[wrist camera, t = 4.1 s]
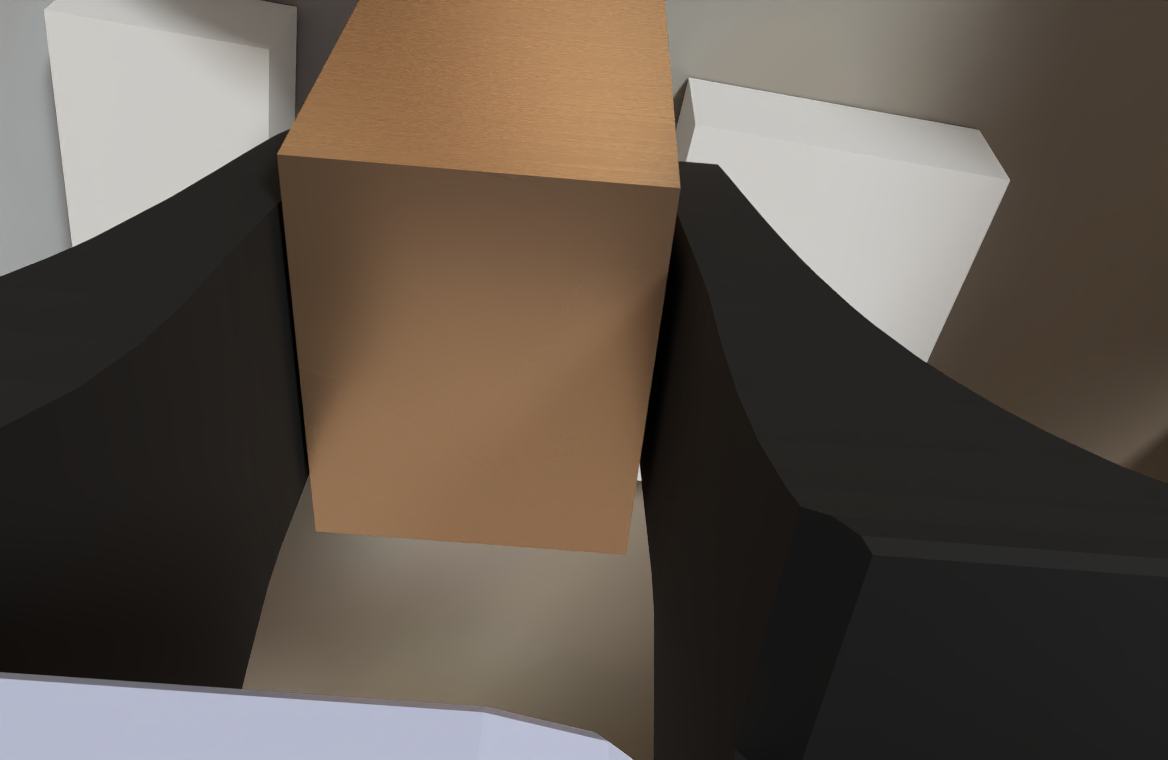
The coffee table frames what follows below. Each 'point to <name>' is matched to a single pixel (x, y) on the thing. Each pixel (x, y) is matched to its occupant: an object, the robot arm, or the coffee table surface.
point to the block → (482, 267)
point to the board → (704, 135)
